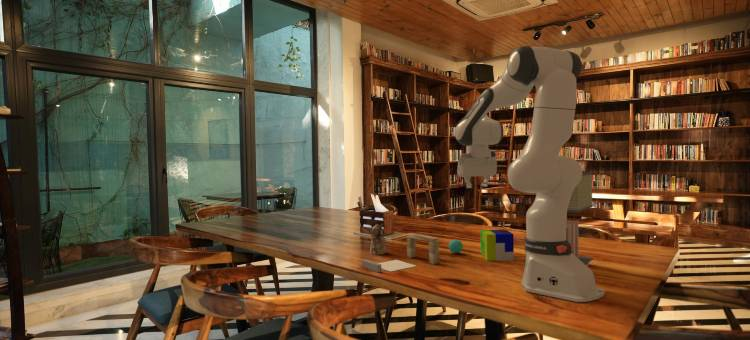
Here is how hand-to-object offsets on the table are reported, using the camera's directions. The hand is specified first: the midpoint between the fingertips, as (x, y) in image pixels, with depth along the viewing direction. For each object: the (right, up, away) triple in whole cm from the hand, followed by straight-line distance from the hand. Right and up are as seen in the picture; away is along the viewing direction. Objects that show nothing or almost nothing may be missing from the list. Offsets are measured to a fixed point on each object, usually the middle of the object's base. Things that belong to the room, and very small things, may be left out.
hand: (477, 187), depth 171 cm
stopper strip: (-43, -28, -23) cm, 56 cm away
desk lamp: (+25, -27, -24) cm, 44 cm away
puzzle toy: (+5, -27, -9) cm, 29 cm away
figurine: (-40, -28, +3) cm, 49 cm away
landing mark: (-35, -28, -18) cm, 48 cm away
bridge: (-24, -28, -10) cm, 38 cm away
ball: (-9, -24, 0) cm, 26 cm away
